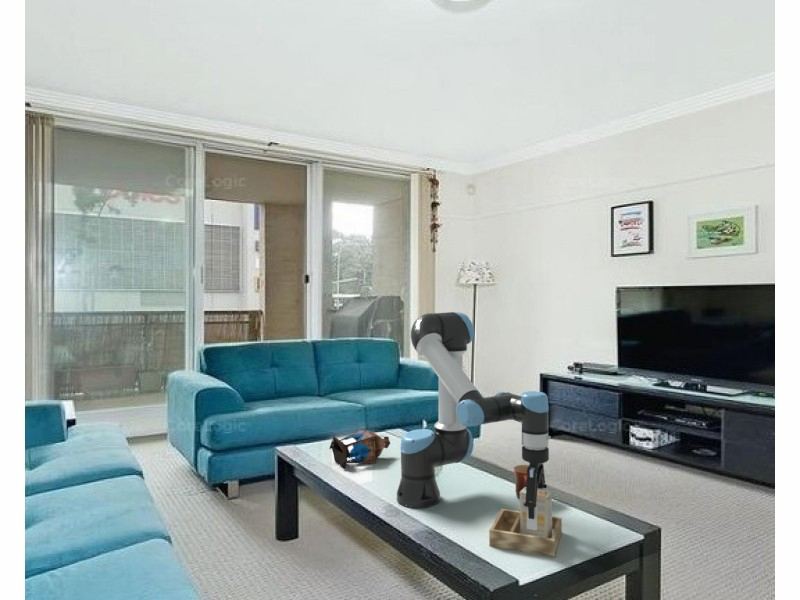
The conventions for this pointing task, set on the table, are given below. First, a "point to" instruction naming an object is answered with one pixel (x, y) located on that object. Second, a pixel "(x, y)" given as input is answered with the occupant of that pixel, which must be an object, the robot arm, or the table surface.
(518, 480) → the mug
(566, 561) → the table surface
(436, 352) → the robot arm
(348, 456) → the lantern
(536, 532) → the supplement box
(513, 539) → the frame
